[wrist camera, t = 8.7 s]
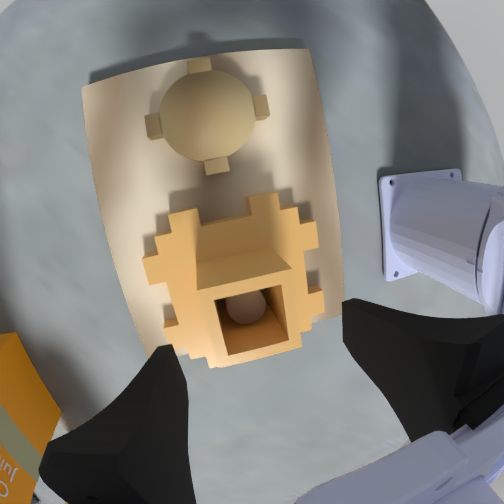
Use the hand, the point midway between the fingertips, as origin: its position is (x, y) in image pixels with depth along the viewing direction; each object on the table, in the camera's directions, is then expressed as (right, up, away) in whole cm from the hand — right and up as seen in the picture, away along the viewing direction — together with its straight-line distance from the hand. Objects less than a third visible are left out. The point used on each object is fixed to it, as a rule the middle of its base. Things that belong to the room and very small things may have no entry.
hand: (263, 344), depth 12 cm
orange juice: (-22, -7, +6) cm, 24 cm away
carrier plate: (-2, +7, +6) cm, 9 cm away
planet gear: (-1, +2, +6) cm, 7 cm away
